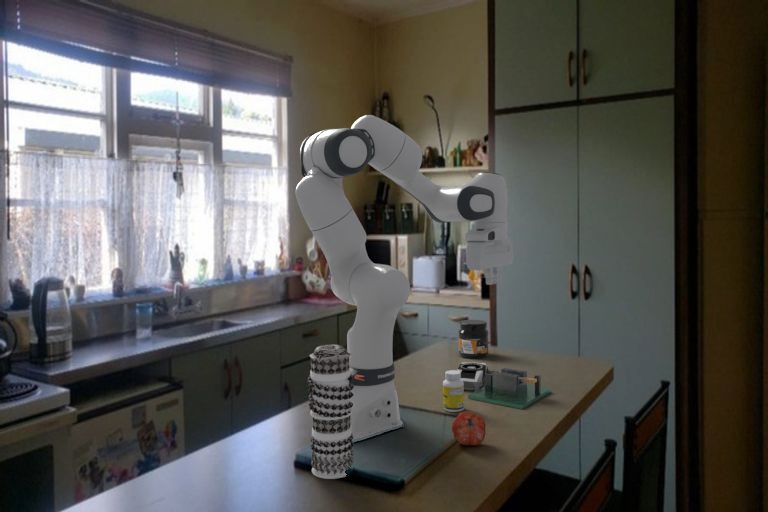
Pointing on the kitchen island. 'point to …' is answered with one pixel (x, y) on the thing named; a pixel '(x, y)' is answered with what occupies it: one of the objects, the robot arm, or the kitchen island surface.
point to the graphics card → (472, 374)
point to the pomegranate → (469, 428)
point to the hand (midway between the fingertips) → (491, 284)
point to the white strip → (527, 379)
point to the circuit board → (509, 389)
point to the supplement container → (473, 339)
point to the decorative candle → (330, 411)
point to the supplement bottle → (453, 391)
